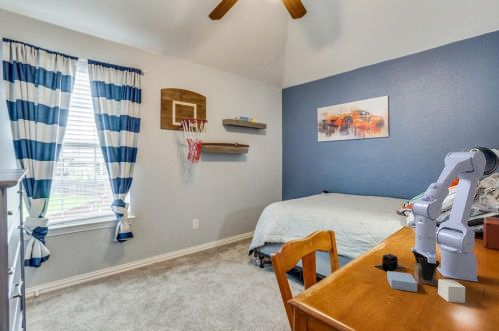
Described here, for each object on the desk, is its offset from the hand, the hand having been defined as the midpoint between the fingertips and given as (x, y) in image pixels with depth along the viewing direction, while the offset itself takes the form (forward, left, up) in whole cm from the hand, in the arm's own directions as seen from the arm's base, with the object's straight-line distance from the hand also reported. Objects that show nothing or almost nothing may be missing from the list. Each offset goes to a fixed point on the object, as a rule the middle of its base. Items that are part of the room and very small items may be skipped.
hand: (424, 276), depth 86 cm
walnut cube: (0, 0, -2) cm, 2 cm away
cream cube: (-4, +10, -2) cm, 11 cm away
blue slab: (+8, +6, -2) cm, 10 cm away
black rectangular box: (+9, -9, -2) cm, 13 cm away
